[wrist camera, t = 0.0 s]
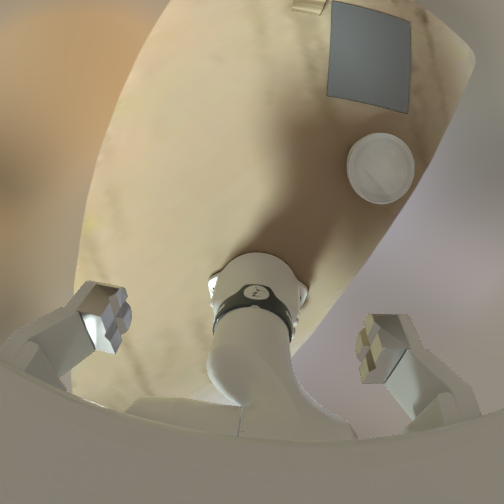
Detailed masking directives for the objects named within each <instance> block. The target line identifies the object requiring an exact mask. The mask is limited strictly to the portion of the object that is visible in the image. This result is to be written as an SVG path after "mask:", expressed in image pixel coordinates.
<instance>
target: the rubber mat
mask: <svg viewBox="0 0 504 504" xmlns="http://www.w3.org/2000/svg"><path fill="white" fill-rule="evenodd" d="M410 66H411V30H410V22H408V21H405V20H402V19H399V18H396V17H393V16H390V15H387V14H384V13H380V12H377V11H373V10H370V9H366V8H362V7H358V6H354V5H350V4H345V3H340V2H335V1H332V11H331V38H330V57H329V72H328V86H327V96H331V97H337V98H342V99H347V100H353V101H357V102H362V103H367V104H371V105H375V106H379V107H383V108H387V109H391V110H395V111H399V112H402V113H406V114H408V103H409V88H410Z"/></svg>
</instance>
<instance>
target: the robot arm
mask: <svg viewBox="0 0 504 504" xmlns="http://www.w3.org/2000/svg"><path fill="white" fill-rule="evenodd" d="M208 287H209V292H210V296H211V307H213V312H214V315H215V318H214V322H213V339H212V342H211V346H210V349H209V353H208V356H207V360H206V368H207V373H208V376H209V378H210V380H211V381H212V383H213V384H214V386H215V387H216V388H217V389H218V391H219V392H220V393H222V394H223V395H224V396H226V397H227V398H229V399H230V400H232V401H234V402H235V403H237V404H238V405H240V406H241V407H239V406H231V405H223V404H216V403H210V402H203V401H198V400H192V399H186V398H176V397H140V398H138V399H136V400H135V401H133V402H132V403H131V404H130V405H129V406H128V407H127V408H126V409H125V410H124V412H120V411H117V410H114V409H111V408H108V407H105V406H102V405H99V404H97V403H94V402H91V401H88V400H86V399H83V398H81V397H78V396H76V395H73V394H71V393H68V392H66V391H67V389H66V386H65V385H64V383H63V382H62V380H61V379H60V377H61V376H62V375H64V374H65V373H66V372H68V371H69V370H70V369H72V368H73V367H74V366H76V365H77V364H78V363H80V362H81V361H82V360H84V359H85V358H86V357H88V356H89V355H90V354H91V353H93V352H94V351H95V349H96V350H100V351H104V352H108V353H112V354H116V352H117V350H118V348H119V346H120V344H121V342H122V337H121V335H122V334H124V333H126V332H127V331H128V329H129V327H130V324H131V319H132V311H131V307H130V305H129V304H128V303H127V302H126V301H125V300H126V298H127V297H128V296H127V292H126V289H125V288H123V287H120V286H115V285H110V284H106V283H101V282H95V281H90V280H89V281H86V282H85V283H84V284H83V285H82V286H81V288H80V289H79V290H78V291H77V293H76V294H75V295H74V296H73V298H72V299H71V300H70V301H69V303H68V304H67V305H66V306H65V308H62V307H61V308H59V309H57V310H55V311H53V312H51V313H49V314H47V315H45V316H43V317H41V318H39V319H37V320H35V321H33V322H31V323H29V324H27V325H25V326H23V327H22V328H19V329H18V330H16V331H14V332H13V333H12V334H11V335H10V337H9V338H8V339H7V341H6V342H5V344H4V345H3V346H2V348H1V349H0V504H504V408H503V409H500V410H498V411H495V412H492V413H489V414H486V415H483V416H482V415H481V412H480V409H479V406H478V403H477V400H476V398H475V395H474V392H473V390H472V387H471V386H470V385H469V384H468V383H467V382H465V381H464V380H463V379H462V378H461V377H460V376H459V375H458V374H456V373H455V372H454V371H453V370H452V369H451V368H449V367H448V366H447V365H446V364H445V363H444V362H443V361H441V360H440V359H439V358H438V357H437V356H435V355H434V354H433V353H432V352H431V351H430V350H428V349H424V348H423V345H422V343H421V340H420V338H419V335H418V333H417V331H416V328H415V326H414V324H413V322H412V319H411V317H410V316H409V315H408V314H395V315H393V314H368V315H367V316H366V318H365V321H364V325H365V328H364V329H362V330H361V331H360V332H359V334H358V337H357V342H356V355H357V358H358V359H359V360H360V361H361V362H362V364H361V365H360V367H359V370H360V376H361V381H362V384H384V385H385V386H386V388H387V389H388V390H389V391H390V393H391V394H392V395H393V396H394V398H395V399H396V400H397V401H398V403H399V404H400V405H401V407H402V408H403V409H404V410H405V412H406V413H407V414H408V415H409V417H410V418H411V419H412V422H411V423H410V424H409V425H408V426H407V427H406V428H405V429H404V430H403V431H402V434H399V435H392V436H385V437H376V438H366V439H358V436H357V434H356V432H355V431H354V429H353V428H352V426H351V425H350V424H349V423H348V422H347V421H346V420H345V419H343V418H341V417H339V416H337V415H335V414H333V413H331V412H330V411H328V410H326V409H325V408H324V407H322V406H321V405H320V404H318V403H317V402H316V401H315V400H314V399H313V398H312V397H311V396H310V395H309V394H308V393H307V392H306V391H305V389H304V388H303V387H302V386H301V384H300V383H299V381H298V379H297V378H296V376H295V373H294V371H293V368H292V362H291V354H290V342H291V339H293V338H294V335H295V328H293V325H296V326H297V324H298V321H299V319H298V318H297V316H299V315H300V310H301V308H302V306H303V303H304V301H305V299H306V297H307V294H308V289H307V287H306V286H305V285H304V284H303V283H301V282H300V281H298V280H297V279H296V277H295V275H294V273H293V272H292V270H291V269H290V267H289V266H288V265H287V264H286V263H285V262H284V261H282V260H281V259H279V258H277V257H275V256H273V255H270V254H266V253H247V254H244V255H241V256H238V257H236V258H235V259H233V260H232V261H231V262H229V263H228V264H227V266H226V267H225V268H224V269H223V270H222V271H221V272H219V273H217V274H215V275H213V276H211V277H210V278H209V280H208ZM214 287H215V288H214ZM300 296H301V297H300ZM242 408H243V410H242ZM241 414H242V417H241Z"/></svg>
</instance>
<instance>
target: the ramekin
mask: <svg viewBox="0 0 504 504" xmlns="http://www.w3.org/2000/svg"><path fill="white" fill-rule="evenodd" d="M346 166H347V176H348V179H349V182H350V184H351V186H352V188H353V189H354V191H355V192H356V193H357V194H358V195H359V196H360V197H361V198H363V199H364V200H366V201H368V202H370V203H373V204H389V203H392V202H395V201H397V200H398V199H400V198H401V197H402V196H403V195H404V194H405V193H406V192H407V191H408V190H409V188H410V186H411V184H412V182H413V179H414V174H415V163H414V157H413V155H412V153H411V151H410V149H409V147H408V146H407V145H406V143H405V142H403V141H402V140H401V139H400V138H398V137H396V136H394V135H392V134H388V133H372V134H369V135H367V136H365V137H363V138H362V139H360V140H359V141H357V142H356V143H355V144H354V145H353V146H352V147H351V149H350V151H349V153H348V157H347V164H346Z"/></svg>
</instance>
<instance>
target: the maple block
mask: <svg viewBox="0 0 504 504" xmlns="http://www.w3.org/2000/svg"><path fill="white" fill-rule="evenodd" d="M325 2H326V0H293V5H292V11H298V12H303V13H309V14H314V15H319V16H320V13H321V11H322V9H323V6H324V4H325Z"/></svg>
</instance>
